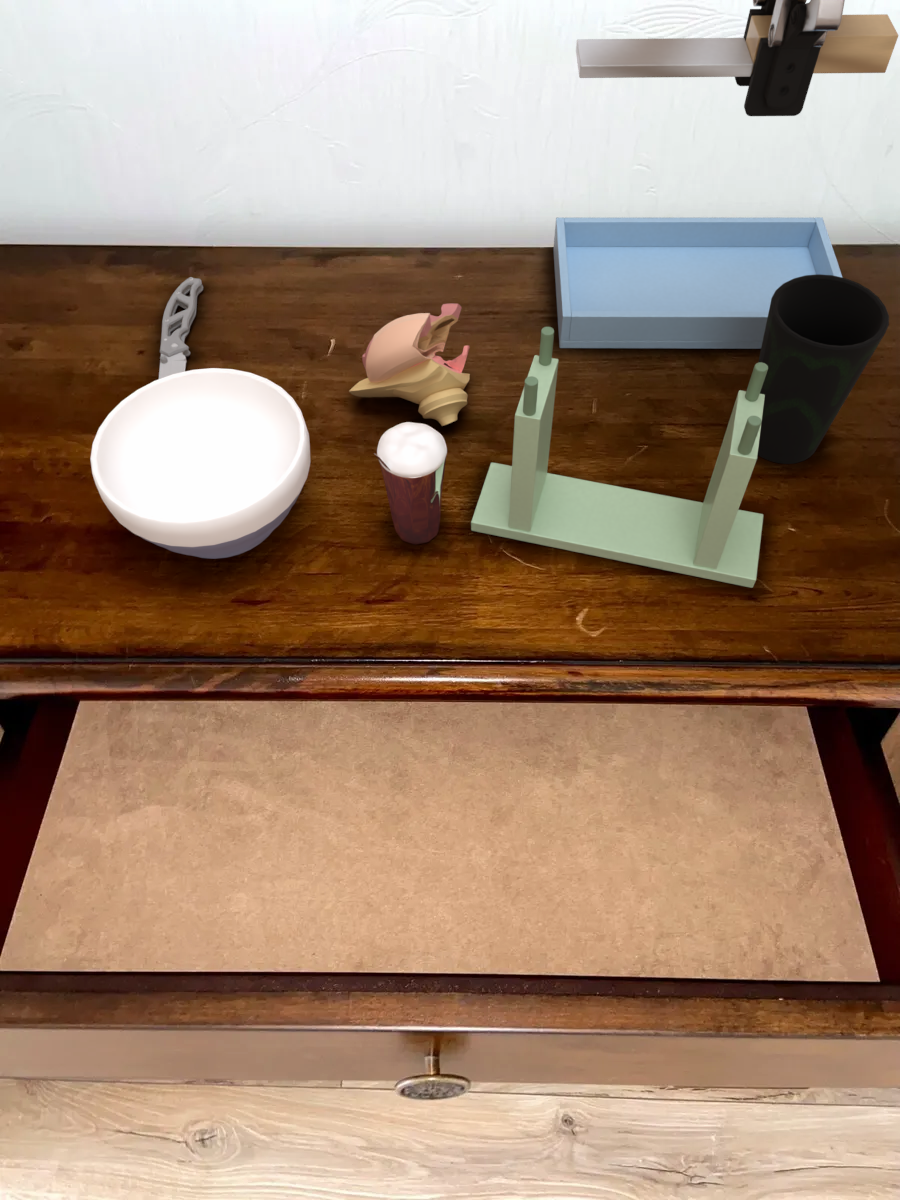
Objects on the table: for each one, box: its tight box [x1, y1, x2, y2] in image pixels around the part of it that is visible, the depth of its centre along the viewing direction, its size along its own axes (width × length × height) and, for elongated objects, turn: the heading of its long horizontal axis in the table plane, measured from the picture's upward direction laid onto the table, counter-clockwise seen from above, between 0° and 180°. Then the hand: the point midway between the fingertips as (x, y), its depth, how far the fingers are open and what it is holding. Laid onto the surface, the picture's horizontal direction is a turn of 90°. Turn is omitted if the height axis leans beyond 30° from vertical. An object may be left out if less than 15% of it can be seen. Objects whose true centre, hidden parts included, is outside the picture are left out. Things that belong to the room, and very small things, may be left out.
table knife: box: [575, 13, 899, 79], centre depth 52 cm, size 17×3×2 cm, turn 90°
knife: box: [158, 276, 204, 379], centre depth 79 cm, size 2×18×3 cm
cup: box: [757, 274, 890, 465], centre depth 68 cm, size 8×8×12 cm
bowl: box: [89, 367, 312, 560], centre depth 66 cm, size 14×14×8 cm
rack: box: [470, 326, 768, 589], centre depth 62 cm, size 20×6×14 cm, turn 75°
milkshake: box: [373, 421, 448, 545], centre depth 64 cm, size 4×5×10 cm
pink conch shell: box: [348, 303, 471, 427], centre depth 73 cm, size 9×10×10 cm
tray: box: [552, 216, 844, 350], centre depth 81 cm, size 23×13×3 cm, turn 89°
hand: (766, 95), depth 55 cm, fingers closed on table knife, 2 cm apart
